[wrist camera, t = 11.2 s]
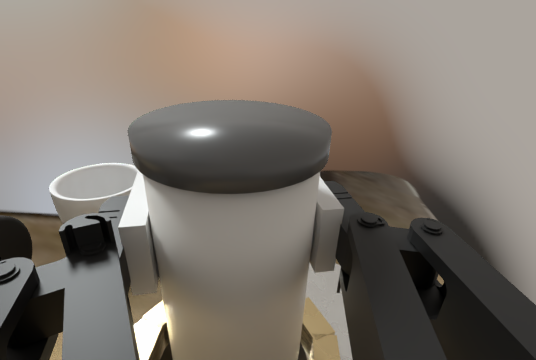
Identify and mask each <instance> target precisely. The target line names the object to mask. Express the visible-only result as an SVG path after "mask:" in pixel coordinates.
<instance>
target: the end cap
mask: <svg viewBox="0 0 536 360" xmlns="http://www.w3.org/2000/svg"><path fill="white" fill-rule="evenodd" d="M11 258H27V259H30V260H31V258H32V240H31V237H30V234H29V232H28V230H27V228H26V227H25V225H24V224H23V223H22V222H20V221H19V220H18V219H16V218H13V217H10V216H0V261H2V260H6V259H11Z"/></svg>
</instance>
